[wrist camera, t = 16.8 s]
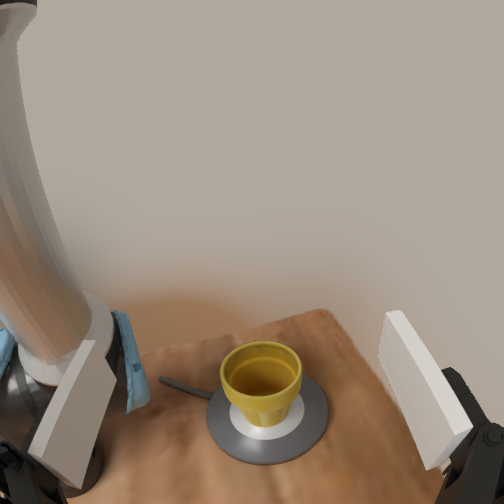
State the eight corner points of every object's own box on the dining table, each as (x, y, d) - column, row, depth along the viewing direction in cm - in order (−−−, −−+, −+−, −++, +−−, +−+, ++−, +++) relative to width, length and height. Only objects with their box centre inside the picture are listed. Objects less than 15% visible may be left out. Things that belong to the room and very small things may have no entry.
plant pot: (298, 380, 44) (297, 336, 40) (305, 434, 35) (306, 394, 31) (233, 385, 45) (222, 342, 41) (229, 439, 36) (215, 400, 31)
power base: (130, 414, 41) (127, 408, 41) (186, 348, 56) (184, 342, 56) (307, 479, 30) (307, 475, 29) (339, 381, 45) (340, 375, 44)
